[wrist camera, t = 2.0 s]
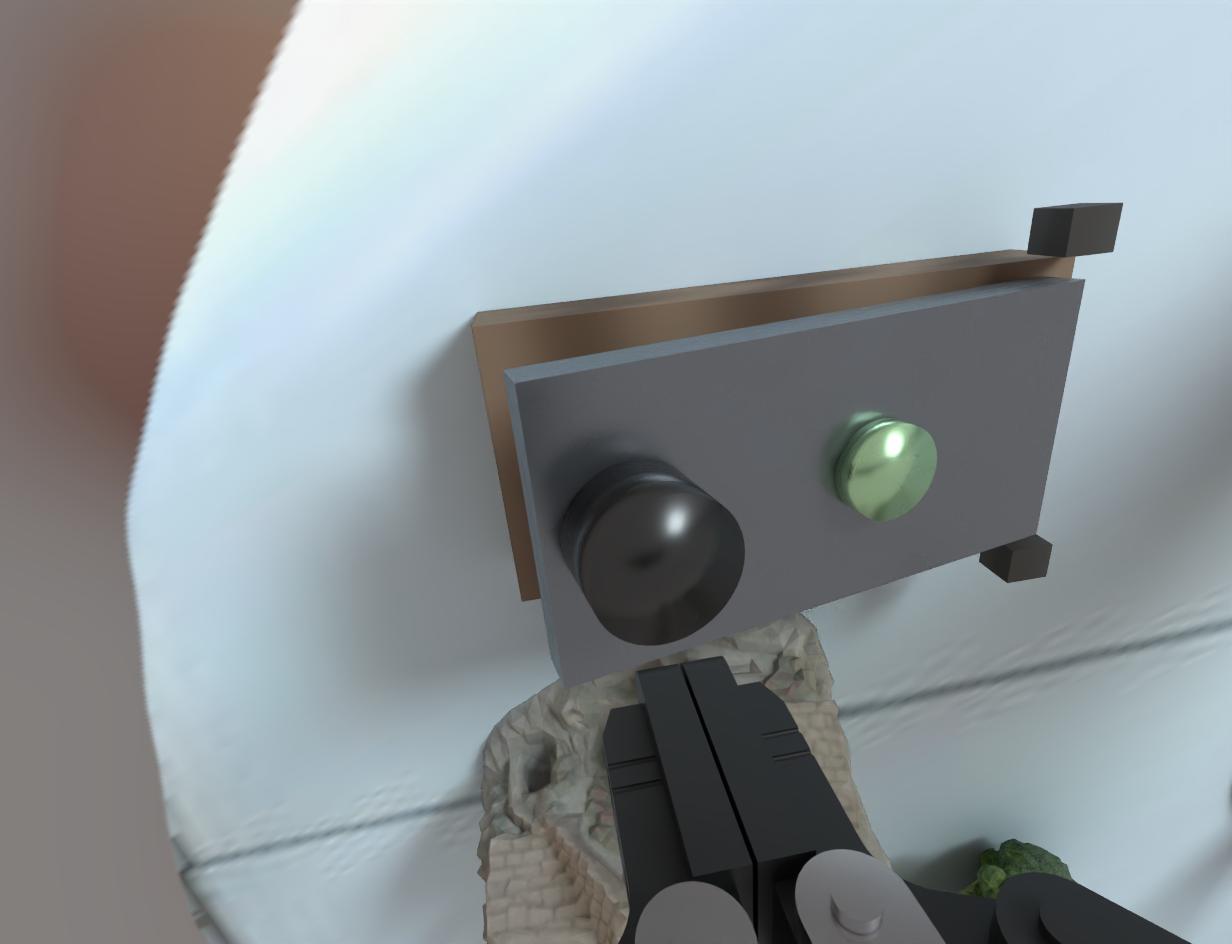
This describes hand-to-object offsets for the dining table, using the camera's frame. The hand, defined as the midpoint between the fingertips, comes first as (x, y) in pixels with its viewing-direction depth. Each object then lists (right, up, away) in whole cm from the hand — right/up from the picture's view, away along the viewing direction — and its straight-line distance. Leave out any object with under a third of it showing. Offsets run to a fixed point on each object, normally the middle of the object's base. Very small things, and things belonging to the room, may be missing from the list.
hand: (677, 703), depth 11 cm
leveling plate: (+5, +4, +9) cm, 11 cm away
